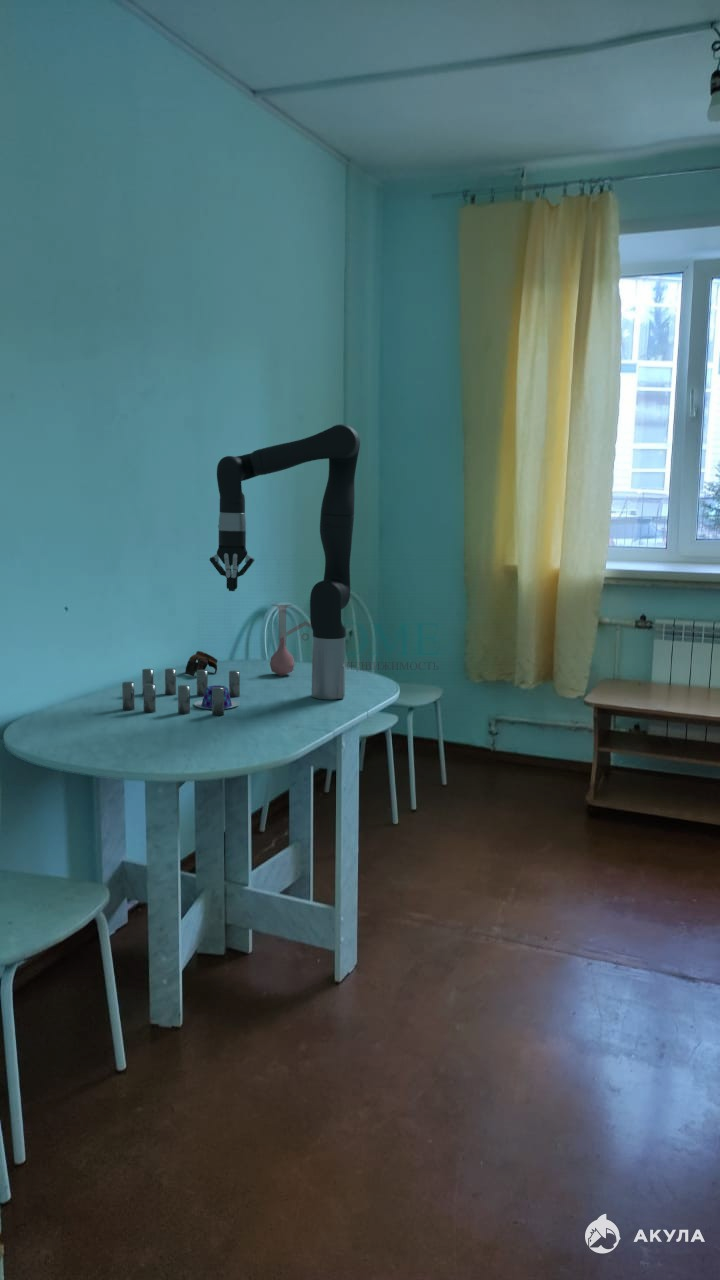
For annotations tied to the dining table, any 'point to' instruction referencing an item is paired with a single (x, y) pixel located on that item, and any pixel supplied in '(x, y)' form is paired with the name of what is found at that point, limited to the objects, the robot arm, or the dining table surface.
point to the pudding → (208, 699)
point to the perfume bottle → (282, 660)
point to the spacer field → (180, 691)
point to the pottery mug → (200, 663)
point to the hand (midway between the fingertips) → (231, 590)
